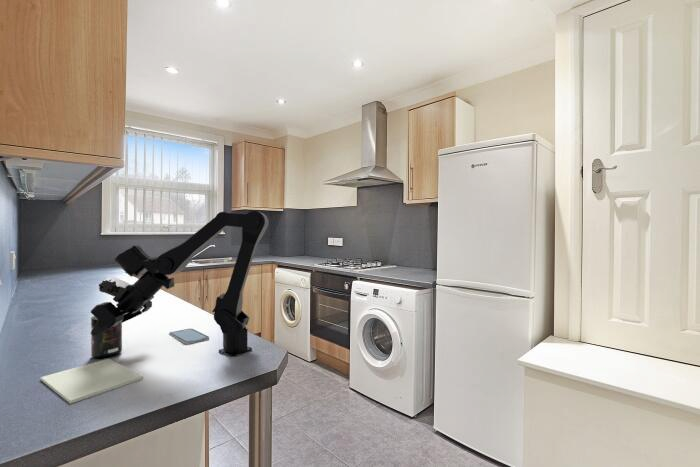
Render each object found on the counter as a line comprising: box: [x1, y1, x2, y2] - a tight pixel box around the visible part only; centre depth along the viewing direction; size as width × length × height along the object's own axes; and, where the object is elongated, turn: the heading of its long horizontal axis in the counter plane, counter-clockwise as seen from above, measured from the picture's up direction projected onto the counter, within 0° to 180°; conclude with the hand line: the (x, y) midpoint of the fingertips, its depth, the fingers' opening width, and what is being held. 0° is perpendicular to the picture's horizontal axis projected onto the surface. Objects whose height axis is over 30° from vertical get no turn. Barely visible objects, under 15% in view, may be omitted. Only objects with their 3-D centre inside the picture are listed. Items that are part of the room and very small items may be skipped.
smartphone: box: [168, 328, 210, 345], centre depth 104 cm, size 7×1×15 cm
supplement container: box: [90, 315, 123, 360], centre depth 88 cm, size 7×7×10 cm
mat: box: [40, 358, 144, 405], centre depth 74 cm, size 18×13×1 cm
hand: (101, 330), depth 88 cm, fingers closed on supplement container, 7 cm apart
